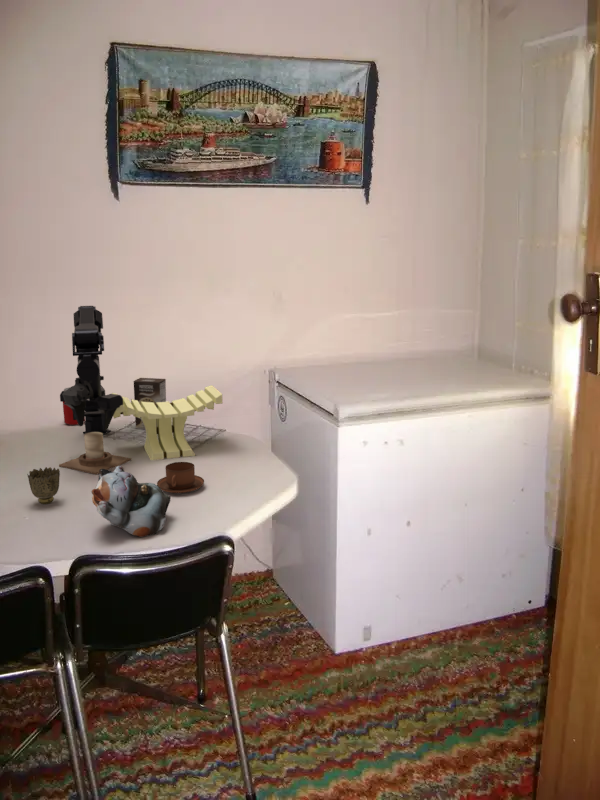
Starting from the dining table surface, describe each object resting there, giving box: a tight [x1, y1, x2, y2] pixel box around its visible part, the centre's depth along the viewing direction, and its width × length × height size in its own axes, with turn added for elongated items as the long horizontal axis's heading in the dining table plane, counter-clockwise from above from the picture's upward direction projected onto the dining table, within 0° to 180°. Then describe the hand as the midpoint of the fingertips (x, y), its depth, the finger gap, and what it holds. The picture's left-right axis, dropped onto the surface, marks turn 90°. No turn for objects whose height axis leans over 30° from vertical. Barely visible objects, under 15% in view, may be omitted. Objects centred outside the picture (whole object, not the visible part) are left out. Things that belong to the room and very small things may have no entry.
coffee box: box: [133, 377, 167, 430], centre depth 248 cm, size 9×6×16 cm
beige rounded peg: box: [83, 432, 105, 460], centre depth 211 cm, size 5×5×8 cm
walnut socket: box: [58, 451, 132, 476], centre depth 212 cm, size 14×14×2 cm
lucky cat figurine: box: [91, 465, 171, 538], centre depth 168 cm, size 17×14×16 cm
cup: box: [27, 466, 61, 505], centre depth 183 cm, size 8×7×8 cm
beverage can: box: [62, 386, 85, 426], centre depth 252 cm, size 7×7×12 cm
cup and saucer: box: [156, 461, 205, 494], centre depth 192 cm, size 12×12×6 cm
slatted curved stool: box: [111, 385, 224, 461], centre depth 222 cm, size 30×16×18 cm, turn 110°
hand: (93, 428), depth 210 cm, fingers open, 9 cm apart
